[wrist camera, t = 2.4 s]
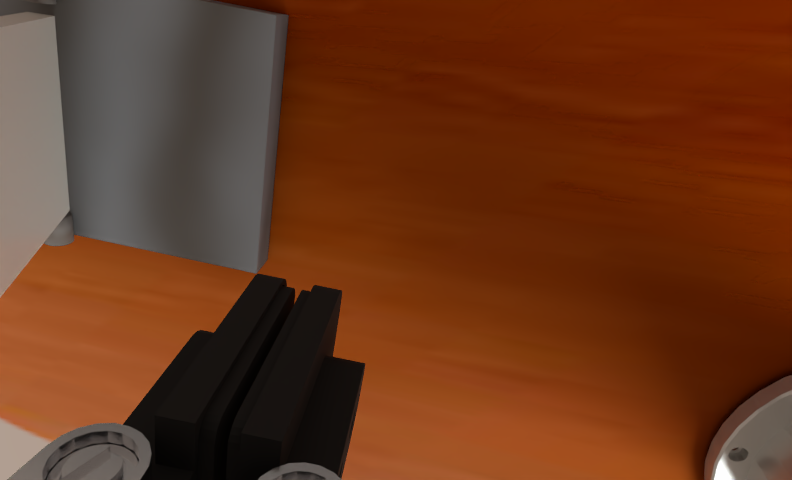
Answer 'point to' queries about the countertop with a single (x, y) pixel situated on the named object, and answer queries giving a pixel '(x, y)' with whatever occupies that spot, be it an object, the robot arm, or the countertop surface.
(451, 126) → the countertop surface
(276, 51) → the board
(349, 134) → the countertop surface
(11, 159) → the tile
